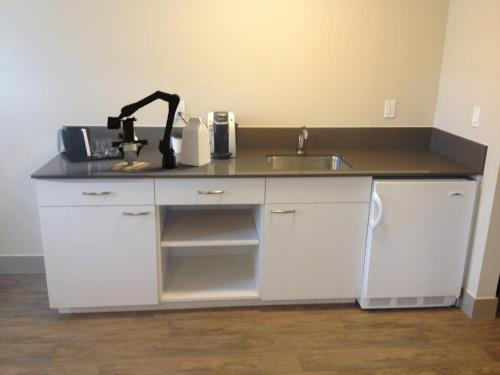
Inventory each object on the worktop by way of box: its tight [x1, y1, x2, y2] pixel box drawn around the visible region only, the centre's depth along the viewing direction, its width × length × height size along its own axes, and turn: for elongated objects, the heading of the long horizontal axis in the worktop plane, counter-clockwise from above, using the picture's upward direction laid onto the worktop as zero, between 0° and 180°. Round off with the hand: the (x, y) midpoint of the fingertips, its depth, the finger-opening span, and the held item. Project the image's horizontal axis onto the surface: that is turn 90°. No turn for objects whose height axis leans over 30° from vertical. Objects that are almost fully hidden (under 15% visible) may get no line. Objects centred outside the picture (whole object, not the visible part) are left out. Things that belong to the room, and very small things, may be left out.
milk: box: [181, 115, 211, 167], centre depth 253 cm, size 12×12×26 cm
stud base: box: [109, 160, 152, 173], centre depth 243 cm, size 16×15×4 cm
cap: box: [122, 150, 138, 162], centre depth 242 cm, size 7×7×5 cm
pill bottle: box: [123, 131, 139, 151], centre depth 266 cm, size 8×8×15 cm
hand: (130, 158), depth 243 cm, fingers closed on cap, 7 cm apart
